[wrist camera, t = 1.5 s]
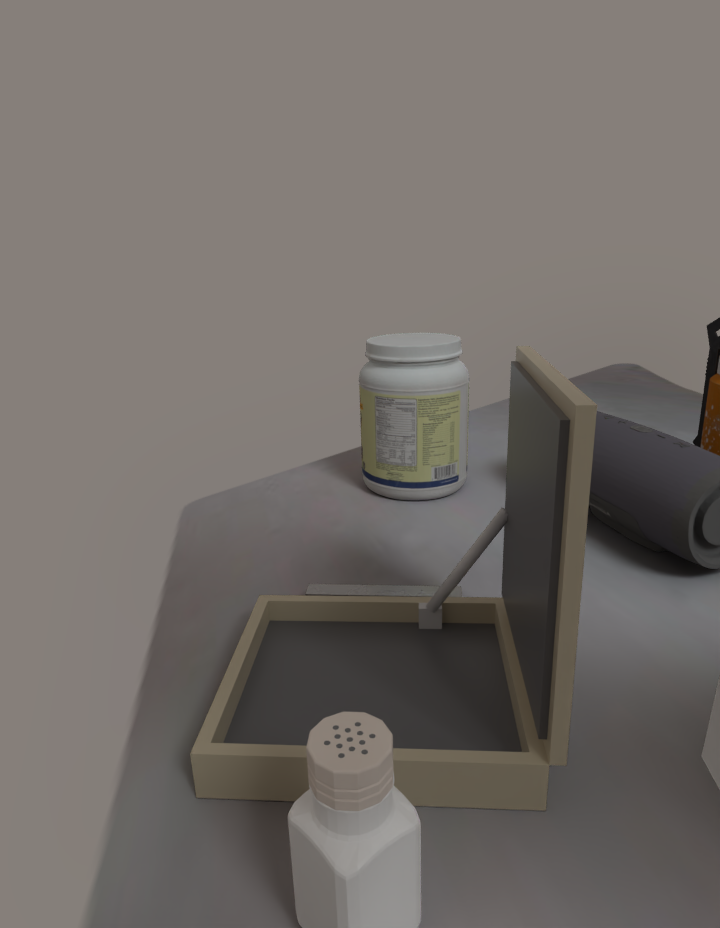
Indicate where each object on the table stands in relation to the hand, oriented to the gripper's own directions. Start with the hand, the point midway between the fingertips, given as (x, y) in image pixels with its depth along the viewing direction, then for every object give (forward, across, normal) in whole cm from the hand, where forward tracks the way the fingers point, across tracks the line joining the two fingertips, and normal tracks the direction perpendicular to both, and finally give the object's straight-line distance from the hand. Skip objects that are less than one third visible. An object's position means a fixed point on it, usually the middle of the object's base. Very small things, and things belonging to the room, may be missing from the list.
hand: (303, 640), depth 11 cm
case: (+25, 0, -20) cm, 32 cm away
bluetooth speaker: (+52, +22, -17) cm, 59 cm away
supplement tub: (+64, +1, -18) cm, 66 cm away
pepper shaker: (+11, 0, -20) cm, 23 cm away
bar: (+37, -1, -19) cm, 41 cm away
